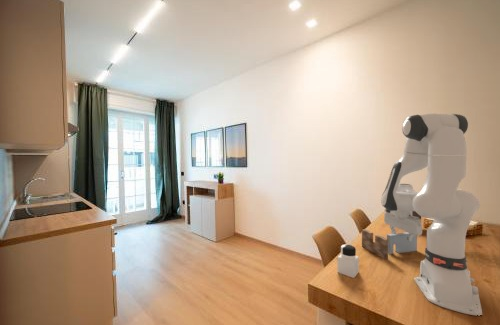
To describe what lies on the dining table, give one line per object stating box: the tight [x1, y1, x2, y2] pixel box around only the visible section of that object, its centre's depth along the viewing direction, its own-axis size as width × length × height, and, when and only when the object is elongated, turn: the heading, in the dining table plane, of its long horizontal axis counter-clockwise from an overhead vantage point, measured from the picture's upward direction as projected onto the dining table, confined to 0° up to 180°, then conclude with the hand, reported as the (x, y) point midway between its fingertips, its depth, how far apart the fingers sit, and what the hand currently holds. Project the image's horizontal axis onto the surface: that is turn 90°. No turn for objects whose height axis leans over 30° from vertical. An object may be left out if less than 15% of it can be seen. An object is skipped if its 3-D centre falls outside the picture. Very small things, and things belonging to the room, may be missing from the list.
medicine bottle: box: [337, 244, 360, 279], centre depth 95 cm, size 7×7×12 cm
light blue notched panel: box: [386, 232, 418, 255], centre depth 115 cm, size 18×2×10 cm, turn 102°
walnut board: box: [361, 228, 389, 260], centre depth 115 cm, size 16×2×10 cm, turn 12°
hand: (401, 237), depth 116 cm, fingers open, 8 cm apart
